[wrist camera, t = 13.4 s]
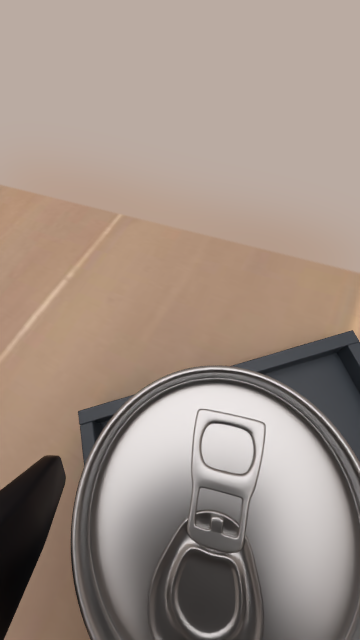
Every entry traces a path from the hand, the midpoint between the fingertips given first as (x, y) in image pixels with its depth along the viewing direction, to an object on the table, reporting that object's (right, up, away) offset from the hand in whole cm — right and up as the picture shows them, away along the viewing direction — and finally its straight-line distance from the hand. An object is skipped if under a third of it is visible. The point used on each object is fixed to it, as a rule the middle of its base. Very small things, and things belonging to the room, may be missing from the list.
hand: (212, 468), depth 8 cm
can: (+1, -4, +8) cm, 9 cm away
